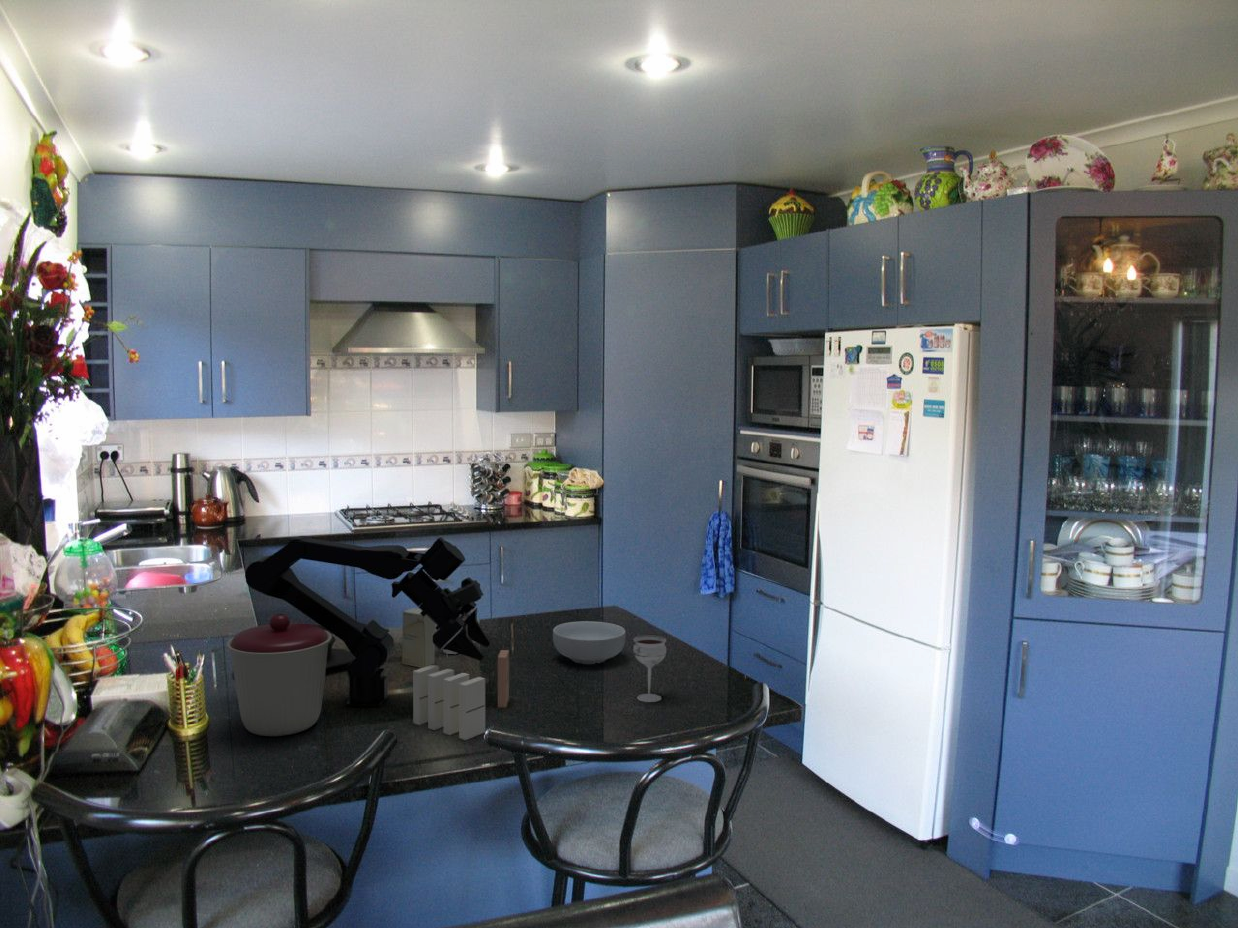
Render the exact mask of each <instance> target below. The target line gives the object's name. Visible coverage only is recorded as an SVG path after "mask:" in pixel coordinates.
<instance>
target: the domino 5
mask: <svg viewBox="0 0 1238 928" xmlns="http://www.w3.org/2000/svg"><path fill="white" fill-rule="evenodd" d="M509 700H510V650H509V649H501V650H500V652H499V653H498V656H497V708H507V706H508V704H509Z"/></svg>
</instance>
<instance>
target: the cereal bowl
mask: <svg viewBox="0 0 1238 928" xmlns="http://www.w3.org/2000/svg"><path fill="white" fill-rule="evenodd" d="M552 641H553V645H554V647H555V649H556V650H557V652H559V653H560V655H562V656H564V657H566V658H569V659H570V661H572V662H573V661H574V662H573V663H577V664H580V663H581V664H580V665H596V664H595V663H598V664H602V663H604V662H605V661H606V660H608V659H612V658H614V657H615V656H617V655H618V654H619V653H620V652H621V651H622V650H623V648H624V646H625V642H626V630H625V628H624V627H622V626H621V625H618V624H616V623H615V624H614V623H611V622H610V623H609V622H606V621H588V620H585V621H583V620H582V621H569V622H565V623H560V624H558V625H556V626H555V627H554V628H553V630H552ZM601 662H602V663H601Z"/></svg>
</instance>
